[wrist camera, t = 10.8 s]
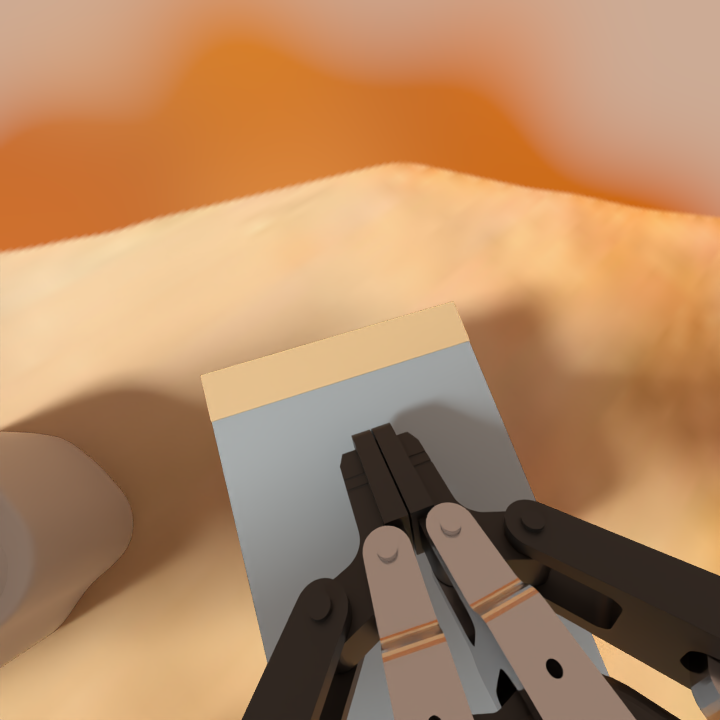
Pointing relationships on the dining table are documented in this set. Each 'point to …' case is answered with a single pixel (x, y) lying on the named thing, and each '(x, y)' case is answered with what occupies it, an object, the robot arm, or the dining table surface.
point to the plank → (333, 438)
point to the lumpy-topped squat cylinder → (52, 534)
